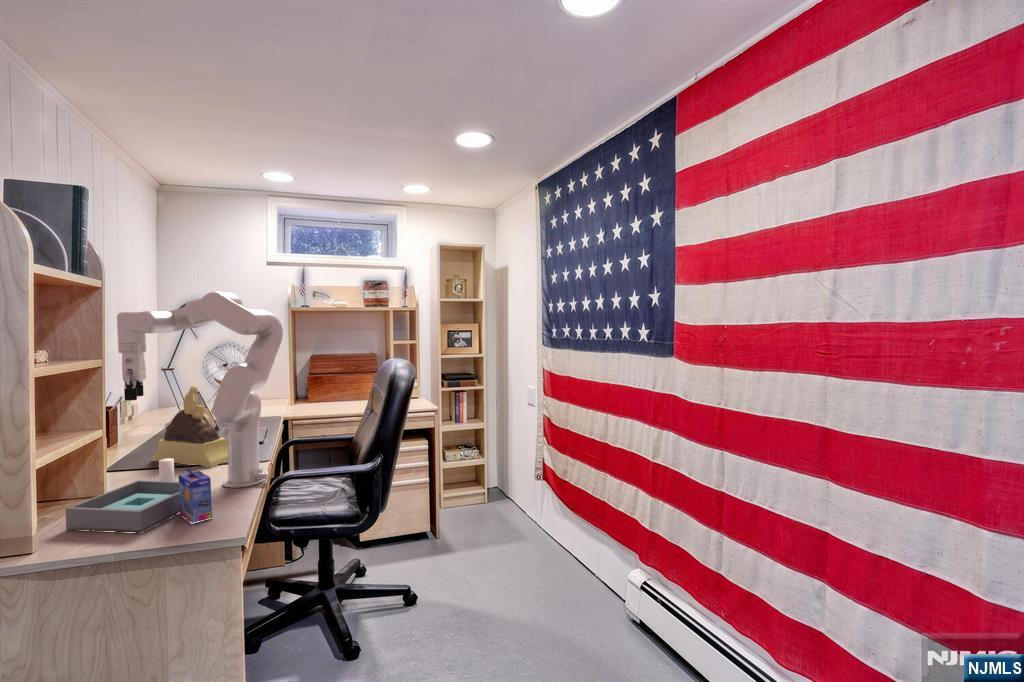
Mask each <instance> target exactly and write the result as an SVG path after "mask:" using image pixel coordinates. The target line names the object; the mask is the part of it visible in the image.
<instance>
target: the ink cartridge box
mask: <svg viewBox="0 0 1024 682" xmlns="http://www.w3.org/2000/svg"><path fill="white" fill-rule="evenodd" d="M186 470H187V472H184V473H179V474H178V482H179V492H180V514H181V515H182V516H183V517H184V518H186V519H187V520H188V521H190V522H192V523H193V522H197V521H201V520H205V519H209V518H212V517H213V502H212V501H213V499H212V483H211V482H212V481H211V477H210V476H209V475H208V474H206V473H205V474H204V473H203V472H202V471H200V470H194V471H192V469H189V468H188V467H186ZM180 514H179V515H180ZM181 515H180V516H181ZM182 516H181V517H182ZM183 517H182V518H183ZM184 518H183V519H184ZM213 518H214V517H213ZM213 518H212V519H213ZM187 520H186V521H187ZM188 521H187V522H188Z"/></svg>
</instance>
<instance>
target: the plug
mask: <svg viewBox="0 0 1024 682" xmlns="http://www.w3.org/2000/svg"><path fill="white" fill-rule="evenodd" d="M158 478H159V479H158V481H172V482H175V464H174V459H173V458H167V459H162V460H159V462H158Z"/></svg>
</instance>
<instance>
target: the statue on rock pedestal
mask: <svg viewBox="0 0 1024 682" xmlns="http://www.w3.org/2000/svg"><path fill="white" fill-rule="evenodd" d="M198 390H199V387H197V386H196V385H193V386H190V387H189V391H188V392H187V393H186V395H184V399H183V409H181V410H180V411H179V412H177V413H176V414H175V415H174V417H173V418H172V420H171V421H170V423H169V424H168V425H167V426H166V429H165V432H164V437H163V438H162V439H158V440H157V441H158V442H157V443H158V446H157V450H156V451H155V453H154V455H153V456H152V457H151V459H152V460H151V461H159V460H162V459H167V458H173V459H174V463H181V464H195V465H201V466H208V467H207V468H209V467H212V468H214V467H213V466H215V465H218V464H220V463H223V462H225V461H228V437H220V435H219V432H218V431H217V430H216V429H215V428H214V427H213V426H212V420H211V418H210V416H209V415H208V414H206V413H205V406H204V405H201V404H199V397H198ZM223 464H224V463H223ZM218 466H219V465H218ZM215 467H216V466H215Z"/></svg>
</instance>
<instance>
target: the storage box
mask: <svg viewBox="0 0 1024 682" xmlns="http://www.w3.org/2000/svg"><path fill="white" fill-rule="evenodd" d="M179 512H180V492H179V481H174V482H172V481H159V480H145V479H143V480H139V479H138V480H137V479H136V480H135V481H132V482H130V483H128V484H125V485H122V486H120V487H117V488H115V489H112V490H109V491H107V492H105V493H102V494H99V495H96V496H93V497H92V498H89V499H87V500H86V499H85V500H84V501H82V502H78V503H76V504H73V505H70V506H68V507H66V508H65V530H66V529H67V530H89V531H93V530H94V531H115V532H134V533H135V532H136V533H141V532H143V531H145V530H147V529H149V528H151V527H153V526H155V525H157V524H159V523H161V522H163V521H165V520H167V519H169V518H170V517H172V516H174V515H176V514H177V513H179ZM176 516H177V515H176ZM174 517H175V516H174ZM169 520H170V519H169ZM167 521H168V520H167ZM165 522H166V521H165ZM163 523H164V522H163ZM161 524H162V523H161ZM159 525H160V524H159ZM157 526H158V525H157ZM155 527H156V526H155Z"/></svg>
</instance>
